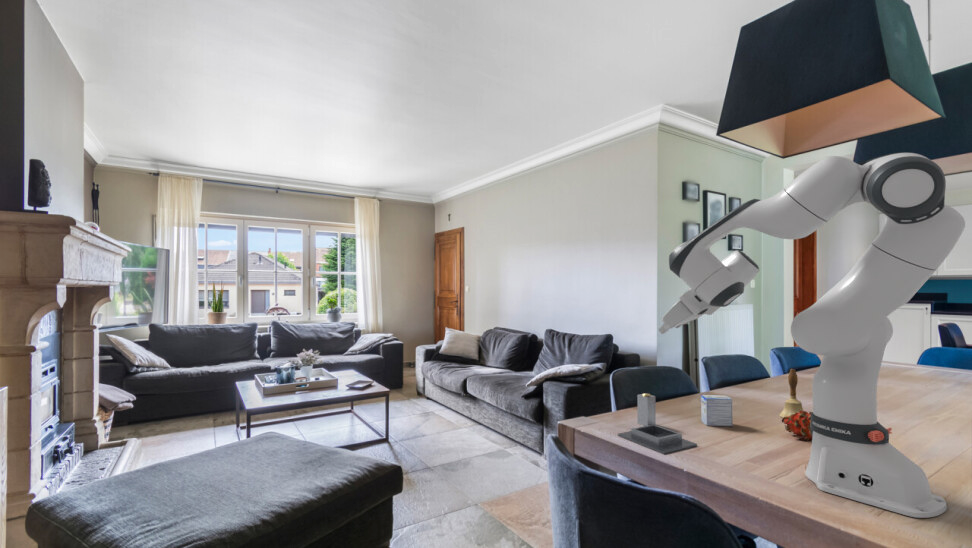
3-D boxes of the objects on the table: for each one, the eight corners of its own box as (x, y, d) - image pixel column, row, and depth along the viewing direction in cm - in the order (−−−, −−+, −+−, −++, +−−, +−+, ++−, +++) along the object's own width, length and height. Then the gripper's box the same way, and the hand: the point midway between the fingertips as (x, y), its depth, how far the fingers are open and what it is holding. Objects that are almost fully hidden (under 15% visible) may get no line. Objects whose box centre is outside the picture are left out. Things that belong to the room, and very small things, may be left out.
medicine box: (726, 422, 141) (726, 395, 141) (733, 427, 136) (732, 398, 136) (701, 421, 141) (700, 394, 142) (706, 426, 137) (706, 398, 137)
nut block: (655, 425, 137) (655, 394, 138) (647, 426, 136) (647, 396, 136) (645, 421, 141) (645, 392, 141) (637, 423, 139) (637, 393, 139)
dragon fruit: (830, 452, 119) (785, 445, 130) (841, 430, 123) (796, 424, 134) (814, 428, 118) (770, 422, 129) (825, 406, 122) (782, 402, 133)
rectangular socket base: (696, 446, 119) (696, 436, 119) (663, 454, 113) (663, 443, 113) (649, 429, 133) (649, 420, 133) (618, 435, 127) (618, 426, 127)
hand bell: (773, 413, 151) (772, 367, 151) (797, 414, 151) (796, 367, 151) (789, 421, 142) (788, 371, 143) (815, 421, 142) (814, 371, 143)
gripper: (709, 286, 130) (676, 315, 138) (679, 294, 116) (644, 326, 124) (725, 302, 127) (690, 331, 135) (697, 312, 113) (660, 344, 121)
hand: (668, 328), depth 129 cm, fingers open, 8 cm apart
